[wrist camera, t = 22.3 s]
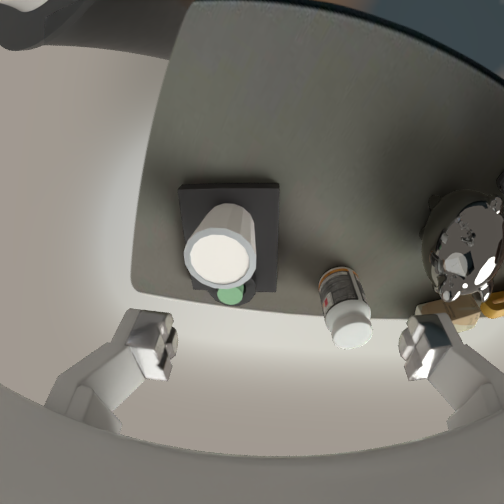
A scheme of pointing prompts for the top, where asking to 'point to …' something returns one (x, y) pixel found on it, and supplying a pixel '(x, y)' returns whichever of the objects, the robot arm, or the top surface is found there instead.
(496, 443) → the robot arm
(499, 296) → the bracket
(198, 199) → the grey push button base
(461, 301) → the box
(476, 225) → the piggy bank
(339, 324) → the pill bottle
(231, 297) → the button
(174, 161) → the top surface
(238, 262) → the shot glass
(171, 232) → the top surface
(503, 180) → the handgun
